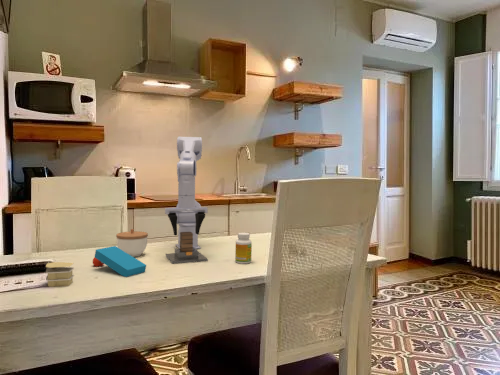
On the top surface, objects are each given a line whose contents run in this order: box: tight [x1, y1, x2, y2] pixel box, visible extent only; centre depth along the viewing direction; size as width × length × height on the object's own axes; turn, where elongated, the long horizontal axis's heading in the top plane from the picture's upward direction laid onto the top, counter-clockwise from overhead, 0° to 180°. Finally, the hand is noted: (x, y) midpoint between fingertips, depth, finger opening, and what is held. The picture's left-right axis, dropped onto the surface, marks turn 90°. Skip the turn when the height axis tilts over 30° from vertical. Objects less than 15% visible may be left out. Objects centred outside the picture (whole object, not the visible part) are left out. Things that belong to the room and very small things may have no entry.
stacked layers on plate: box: [45, 261, 75, 288], centre depth 108 cm, size 10×9×6 cm
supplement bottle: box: [234, 232, 253, 265], centre depth 135 cm, size 5×5×10 cm
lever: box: [92, 245, 147, 278], centre depth 123 cm, size 7×7×19 cm
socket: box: [165, 247, 209, 265], centre depth 139 cm, size 12×12×3 cm
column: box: [180, 232, 193, 252], centre depth 139 cm, size 4×4×7 cm
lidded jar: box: [115, 228, 149, 258], centre depth 143 cm, size 11×11×9 cm
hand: (186, 234), depth 139 cm, fingers open, 7 cm apart
